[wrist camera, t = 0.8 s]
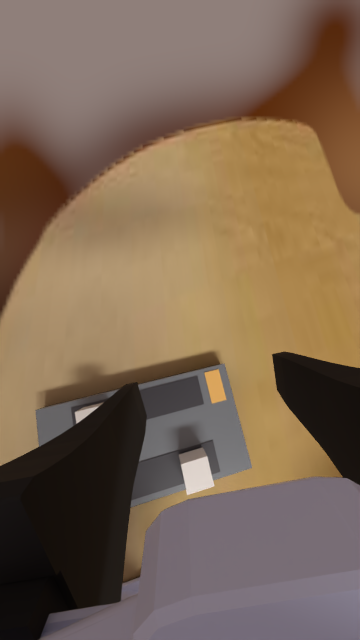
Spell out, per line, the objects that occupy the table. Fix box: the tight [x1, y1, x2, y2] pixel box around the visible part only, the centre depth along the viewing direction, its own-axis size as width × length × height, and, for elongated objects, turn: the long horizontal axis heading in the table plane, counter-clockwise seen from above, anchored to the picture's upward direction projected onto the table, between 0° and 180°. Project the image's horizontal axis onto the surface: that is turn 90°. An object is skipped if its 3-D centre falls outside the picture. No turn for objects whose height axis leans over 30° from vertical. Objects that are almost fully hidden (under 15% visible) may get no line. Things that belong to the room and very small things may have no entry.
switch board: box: [36, 364, 252, 507], centre depth 27 cm, size 13×24×2 cm, turn 103°
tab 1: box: [75, 402, 104, 424], centre depth 24 cm, size 3×3×3 cm
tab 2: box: [179, 447, 214, 495], centre depth 24 cm, size 3×3×3 cm
